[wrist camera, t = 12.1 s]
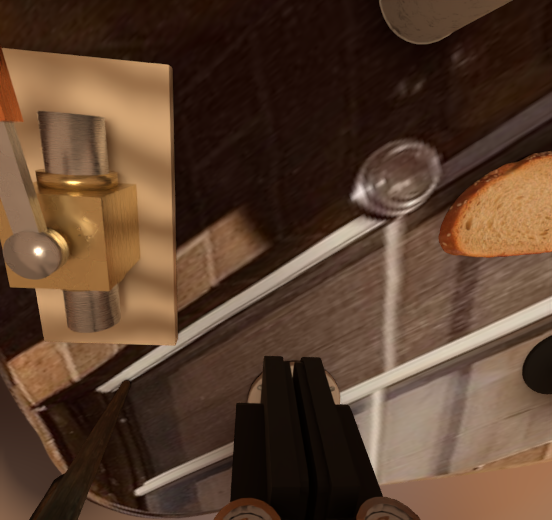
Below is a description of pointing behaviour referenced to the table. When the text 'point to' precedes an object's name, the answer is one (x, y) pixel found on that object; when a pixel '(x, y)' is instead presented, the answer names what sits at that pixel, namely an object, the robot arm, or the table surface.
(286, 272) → the table surface
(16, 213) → the valve lever
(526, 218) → the bread slice
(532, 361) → the wine glass
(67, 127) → the valve body
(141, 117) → the mounting board
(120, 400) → the decorative torch
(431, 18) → the grey stone cylinder
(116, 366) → the table surface
